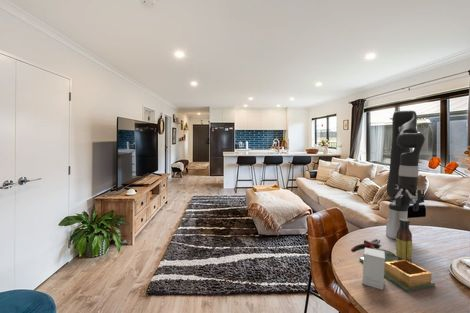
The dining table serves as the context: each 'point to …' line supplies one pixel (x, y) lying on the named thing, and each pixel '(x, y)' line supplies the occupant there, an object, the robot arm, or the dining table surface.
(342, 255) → the dining table surface
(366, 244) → the pliers
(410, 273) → the chute mount
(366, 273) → the supplement box
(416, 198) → the robot arm
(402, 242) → the sauce bottle
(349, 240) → the dining table surface
